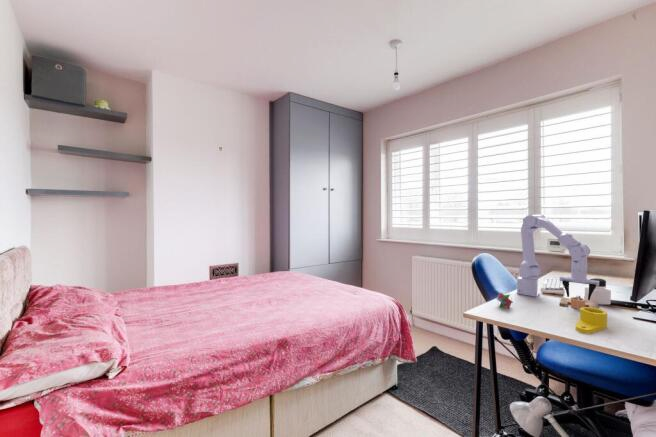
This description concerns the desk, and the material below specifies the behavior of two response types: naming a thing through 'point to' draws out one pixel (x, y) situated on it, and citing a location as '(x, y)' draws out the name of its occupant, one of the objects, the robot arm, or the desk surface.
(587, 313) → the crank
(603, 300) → the medicine bottle
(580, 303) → the hollow octagonal tube
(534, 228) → the robot arm
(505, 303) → the geometric puzzle
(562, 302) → the wooden u-shaped block
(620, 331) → the desk surface
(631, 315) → the desk surface
